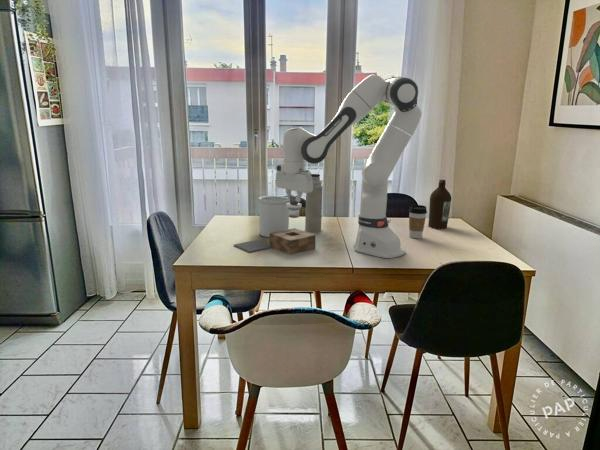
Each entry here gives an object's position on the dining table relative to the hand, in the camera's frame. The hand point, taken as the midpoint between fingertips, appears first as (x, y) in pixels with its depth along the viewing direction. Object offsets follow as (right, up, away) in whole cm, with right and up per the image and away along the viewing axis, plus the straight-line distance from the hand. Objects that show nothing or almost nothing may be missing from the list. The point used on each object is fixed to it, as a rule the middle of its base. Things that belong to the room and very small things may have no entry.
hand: (294, 200), depth 181 cm
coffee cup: (+58, -16, +26) cm, 66 cm away
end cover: (0, -7, +2) cm, 7 cm away
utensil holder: (-10, -15, +26) cm, 31 cm away
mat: (-18, -20, +5) cm, 27 cm away
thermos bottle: (+9, -13, +34) cm, 38 cm away
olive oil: (+75, -12, +45) cm, 88 cm away
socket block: (-1, -20, +5) cm, 21 cm away
